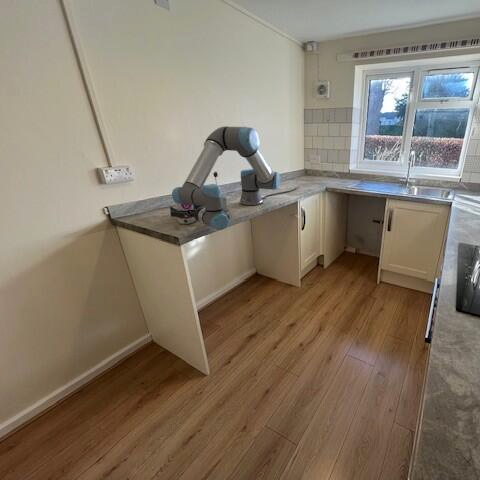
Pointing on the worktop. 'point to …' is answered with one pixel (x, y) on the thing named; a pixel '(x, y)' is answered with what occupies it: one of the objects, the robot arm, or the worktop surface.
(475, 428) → the worktop surface
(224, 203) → the medicine box
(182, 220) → the supplement can
